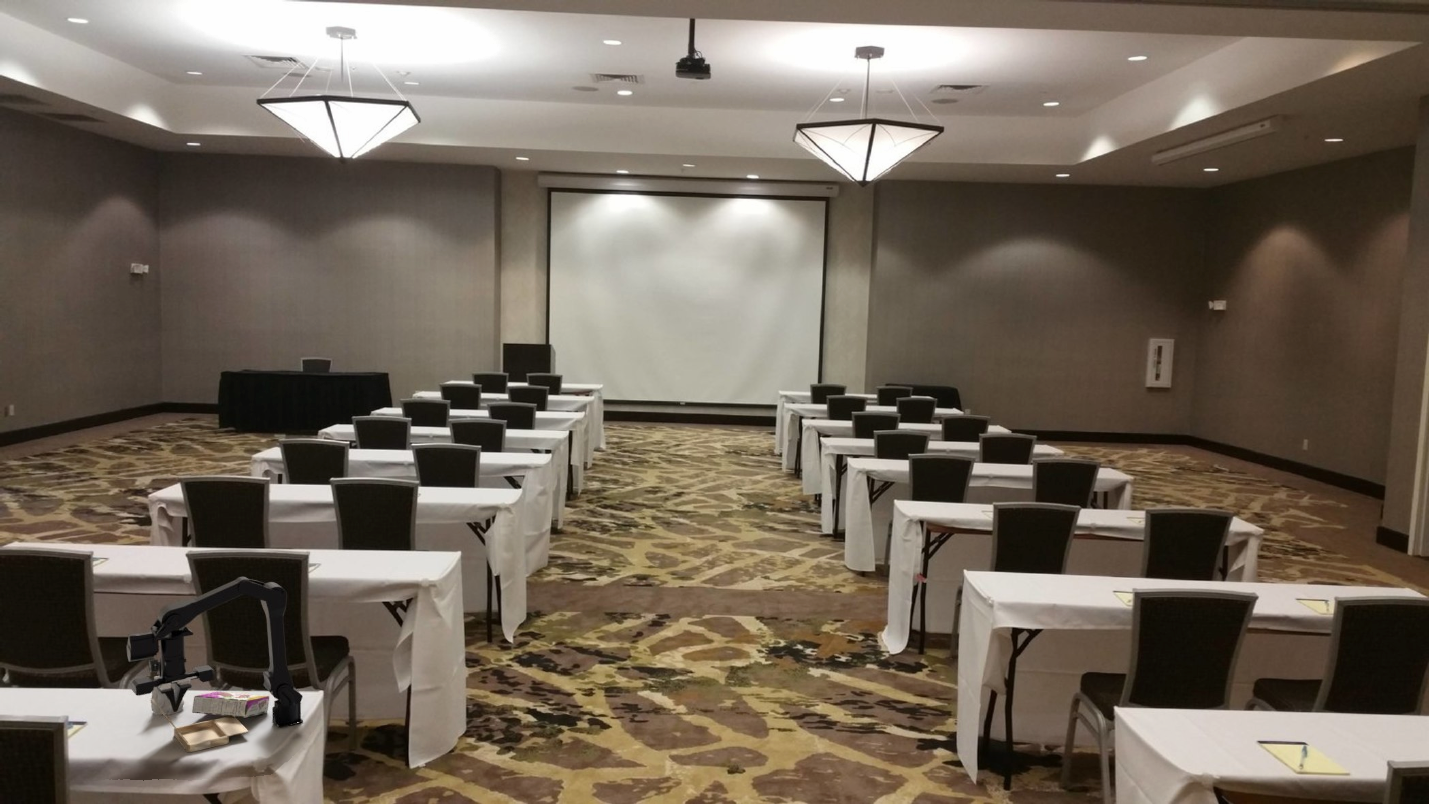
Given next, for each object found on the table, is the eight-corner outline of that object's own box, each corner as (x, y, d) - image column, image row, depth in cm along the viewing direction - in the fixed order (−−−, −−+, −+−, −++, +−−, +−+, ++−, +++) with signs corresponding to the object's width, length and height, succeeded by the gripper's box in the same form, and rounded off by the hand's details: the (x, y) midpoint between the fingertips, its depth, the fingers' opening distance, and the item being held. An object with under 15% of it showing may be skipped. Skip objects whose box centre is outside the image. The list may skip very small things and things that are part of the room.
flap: (175, 727, 277) (151, 698, 273) (188, 742, 268) (163, 712, 263) (175, 728, 277) (150, 698, 273) (187, 743, 268) (162, 713, 263)
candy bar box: (217, 690, 298) (270, 695, 296) (215, 708, 298) (267, 713, 295) (193, 694, 288) (248, 700, 285) (190, 713, 287) (245, 718, 284)
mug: (189, 705, 299) (189, 665, 298) (166, 721, 287) (165, 679, 286) (163, 704, 299) (163, 664, 298) (139, 720, 287) (138, 678, 286)
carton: (232, 722, 288) (232, 715, 288) (249, 739, 277) (249, 731, 276) (173, 735, 278) (173, 727, 278) (188, 753, 267) (188, 745, 267)
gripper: (203, 639, 282) (204, 694, 283) (125, 653, 269) (128, 710, 271) (214, 649, 273) (216, 706, 275) (135, 664, 261) (137, 724, 262)
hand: (174, 711), depth 271 cm, fingers closed
